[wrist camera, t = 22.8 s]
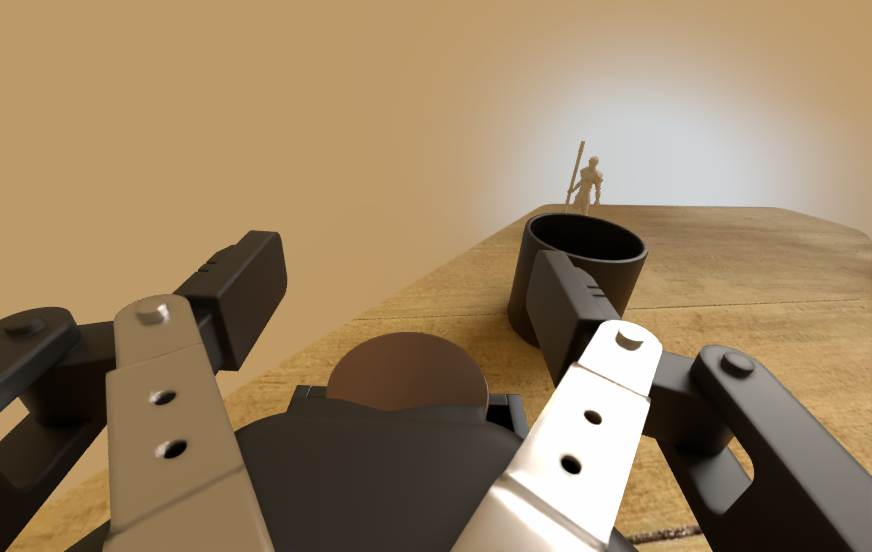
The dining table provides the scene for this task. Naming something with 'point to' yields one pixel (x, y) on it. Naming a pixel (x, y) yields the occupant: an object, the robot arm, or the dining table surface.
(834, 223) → the dining table surface
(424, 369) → the tall brown cylinder
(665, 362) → the robot arm
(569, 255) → the mug
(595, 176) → the figurine
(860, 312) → the dining table surface
